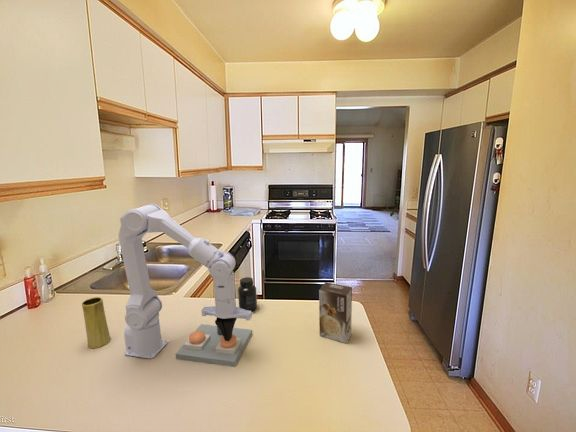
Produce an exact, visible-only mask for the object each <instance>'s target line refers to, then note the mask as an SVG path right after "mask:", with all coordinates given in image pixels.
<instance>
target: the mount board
mask: <svg viewBox="0 0 576 432" xmlns="http://www.w3.org/2000/svg"><path fill="white" fill-rule="evenodd" d="M195 331H203V332H205V340H204V341H203V342H201V343H200V344H191V343H190V342H189V338H188V339H187V340H186V341H185V342H184V343H183V345H182V346H181V347H179V348H178V350H177V352H176V353H175V354H174V355H175V359H176V360H180V361H181V360H183V361H189V362H198V363H204V364H212V365H217V366H225V367H226V366H227V367H233V368H234V367H236V366H237V363H239V360H240V358H241V356H242V355H243V352H244V350H245V349H246V347H247V345H248V343H249V341H250V339H251V338H252V335H253V329H250V328H249V329H248V328H240V327H239V328H238V327H233V331H232V334H233V335H235V336H236V344H235V345H234V346H233V347H232V348H223V347H221V345H220V339H221V337H222V336H223V335H218V333H217V325H211V324H203V323H201V324H200V325H199V326H198V327H197V328H196V330H195Z"/></svg>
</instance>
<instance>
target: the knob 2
mask: <svg viewBox="0 0 576 432" xmlns="http://www.w3.org/2000/svg"><path fill="white" fill-rule="evenodd" d="M235 344H236V336H235V335H233V334H232V338H231V339H230V341H225V340H224V337H223V336H222V337H221V339H220V345H221V347H223V348H232V347H233V346H234V345H235Z"/></svg>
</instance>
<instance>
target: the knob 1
mask: <svg viewBox="0 0 576 432" xmlns="http://www.w3.org/2000/svg"><path fill="white" fill-rule="evenodd" d="M188 339H189V342H190V343H191V344H200V343H201V342H203V341H204V340H205V332H203V331H196V330H194V331H193V332H191V333H190V334H189V335H188Z"/></svg>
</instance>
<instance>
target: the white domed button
mask: <svg viewBox="0 0 576 432" xmlns="http://www.w3.org/2000/svg"><path fill="white" fill-rule="evenodd" d="M216 326H217V325H216ZM217 333H218V335H223V334H222V332H221V330H220V329H219V327H218V326H217Z"/></svg>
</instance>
